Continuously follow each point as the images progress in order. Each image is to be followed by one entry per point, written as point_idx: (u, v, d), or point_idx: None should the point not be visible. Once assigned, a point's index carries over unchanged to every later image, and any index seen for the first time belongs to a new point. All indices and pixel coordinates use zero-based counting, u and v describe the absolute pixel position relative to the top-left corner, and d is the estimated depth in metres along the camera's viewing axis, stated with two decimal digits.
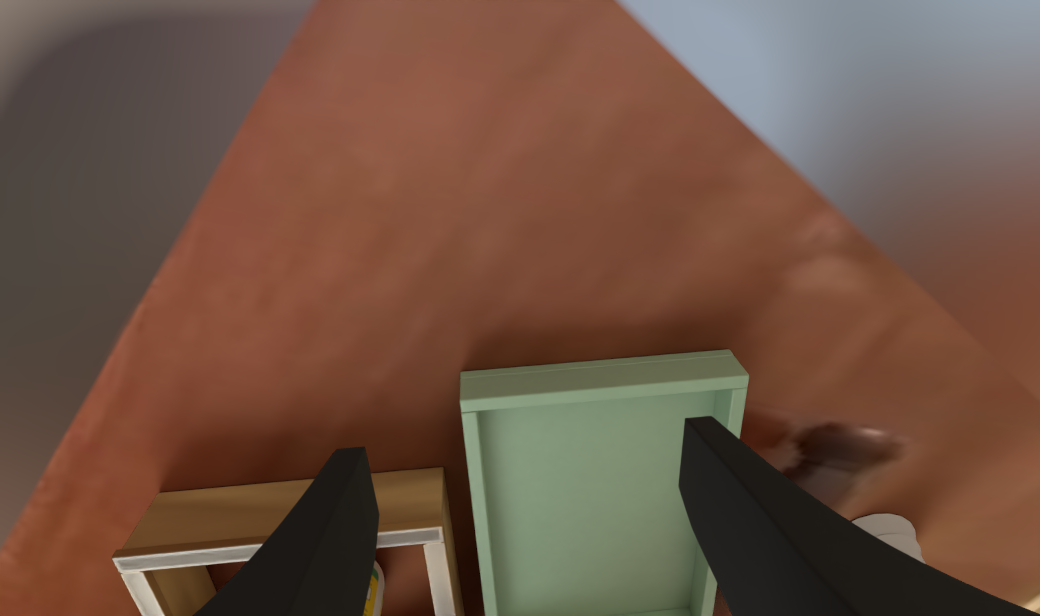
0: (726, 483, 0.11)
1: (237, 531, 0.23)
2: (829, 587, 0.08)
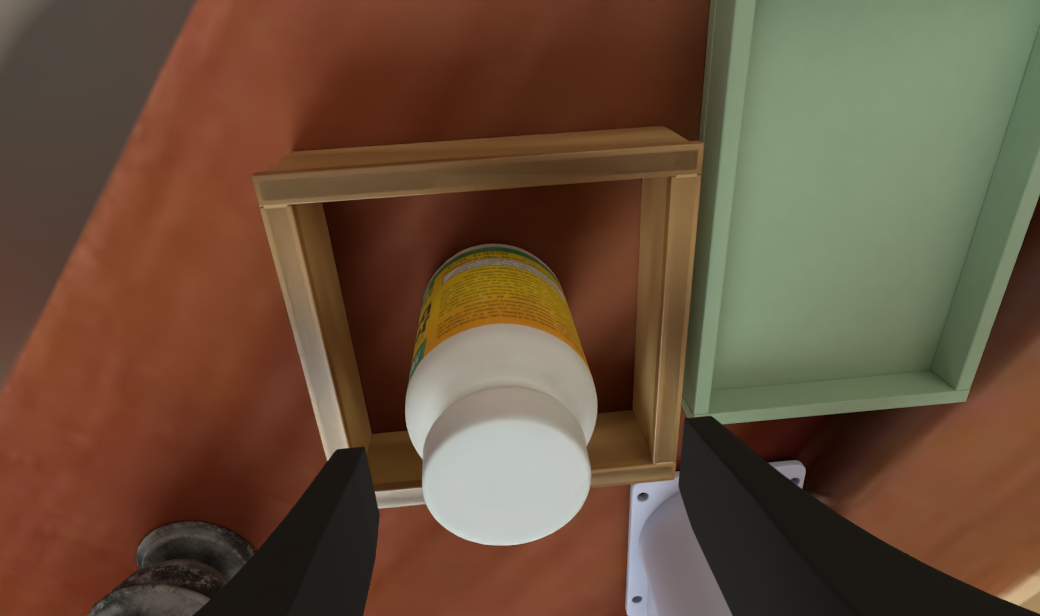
0: (726, 483, 0.11)
1: (416, 160, 0.17)
2: (829, 587, 0.08)
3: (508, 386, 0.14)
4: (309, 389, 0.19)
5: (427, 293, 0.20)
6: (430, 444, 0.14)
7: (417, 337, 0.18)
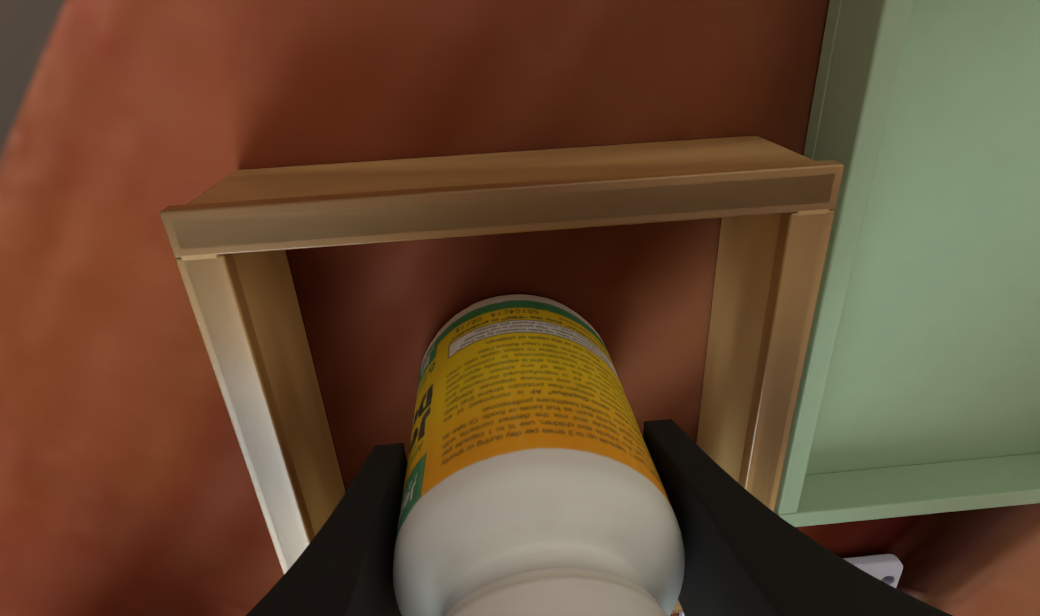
0: (678, 488, 0.11)
1: (413, 186, 0.11)
2: (763, 594, 0.08)
3: (561, 571, 0.08)
4: (261, 504, 0.14)
5: (427, 364, 0.15)
6: None
7: (412, 441, 0.12)
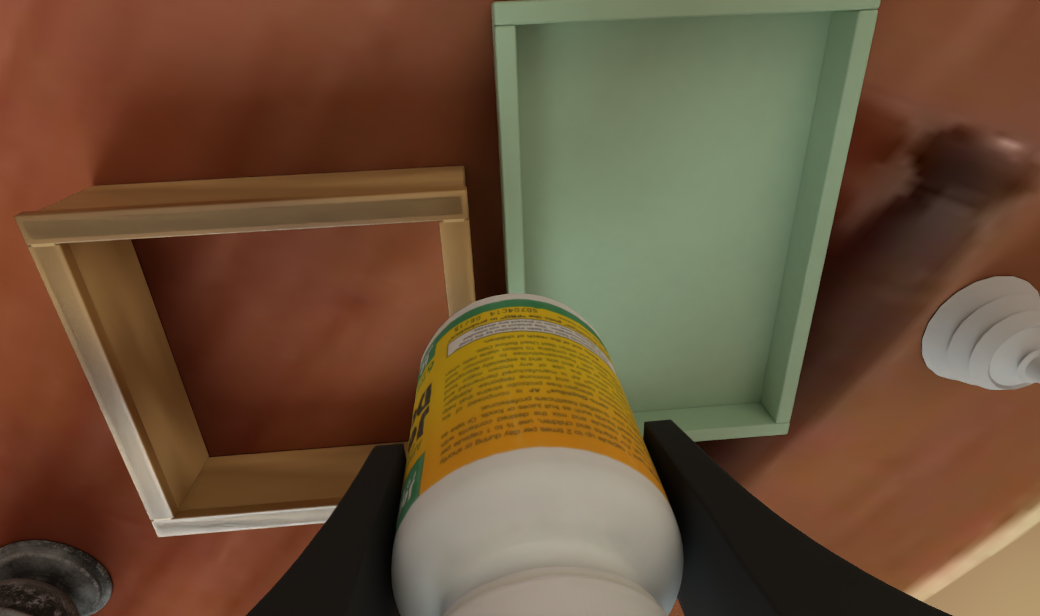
0: (678, 487, 0.11)
1: (189, 200, 0.17)
2: (763, 594, 0.08)
3: (559, 570, 0.08)
4: (106, 419, 0.20)
5: (426, 364, 0.15)
6: None
7: (411, 440, 0.12)
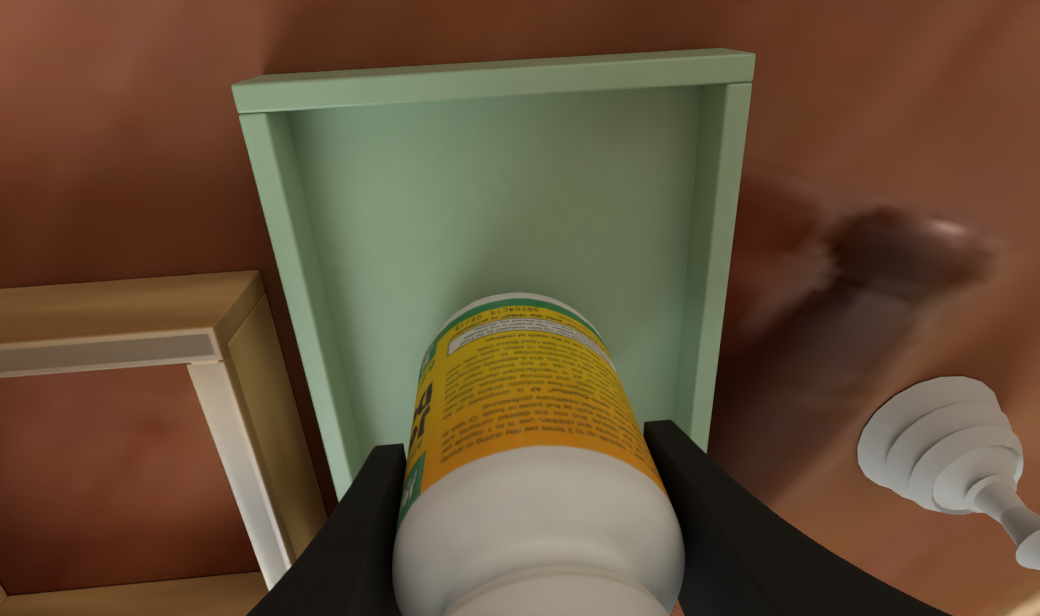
0: (678, 487, 0.11)
1: None
2: (763, 594, 0.08)
3: (561, 569, 0.08)
4: None
5: (426, 363, 0.15)
6: None
7: (412, 439, 0.12)
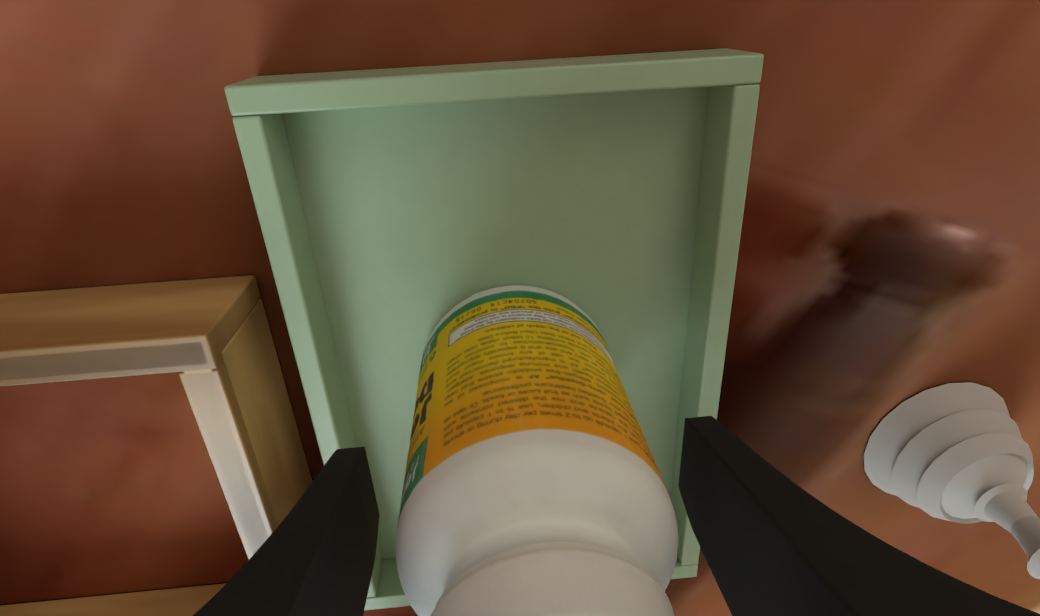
0: (726, 483, 0.11)
1: None
2: (829, 587, 0.08)
3: (558, 544, 0.09)
4: None
5: (428, 353, 0.15)
6: None
7: (414, 426, 0.13)
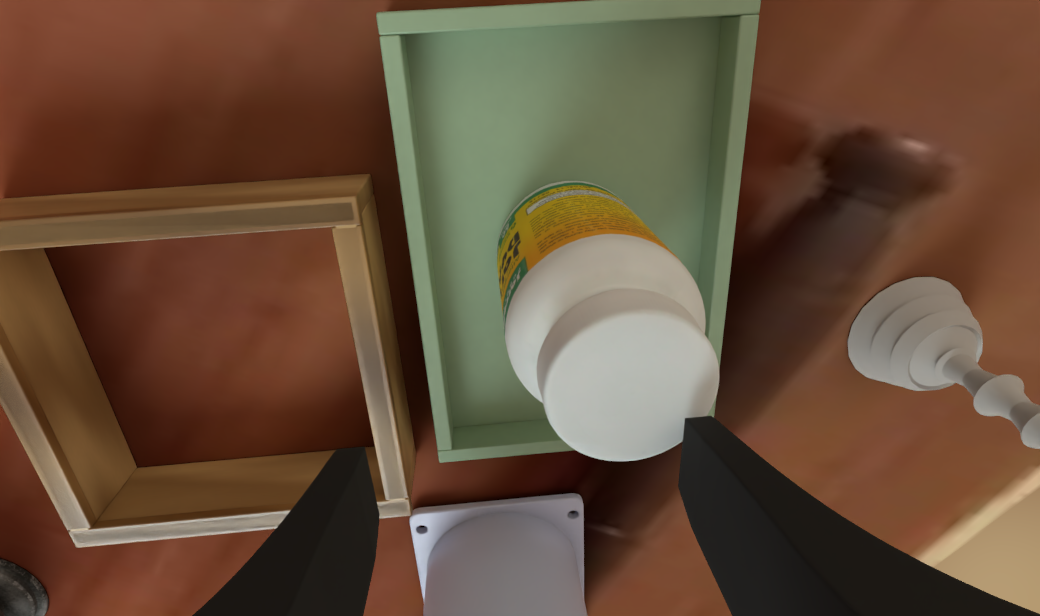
0: (726, 483, 0.11)
1: (86, 210, 0.18)
2: (829, 587, 0.08)
3: None
4: (15, 429, 0.20)
5: (507, 228, 0.20)
6: (552, 346, 0.13)
7: (507, 264, 0.17)
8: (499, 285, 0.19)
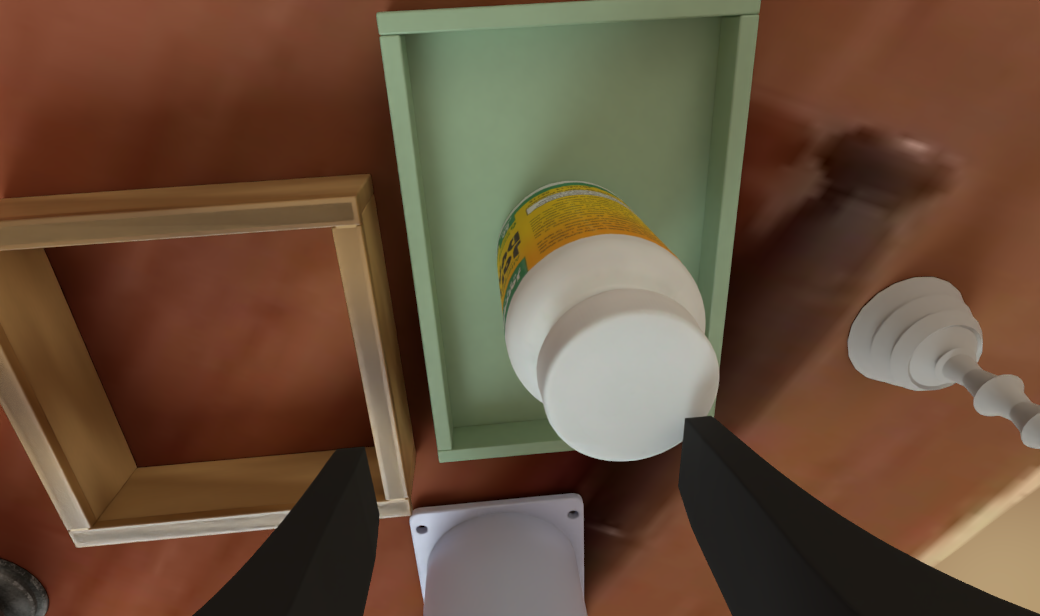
0: (726, 483, 0.11)
1: (86, 210, 0.18)
2: (829, 587, 0.08)
3: None
4: (15, 429, 0.20)
5: (507, 228, 0.20)
6: (552, 346, 0.13)
7: (507, 264, 0.17)
8: (499, 285, 0.19)
